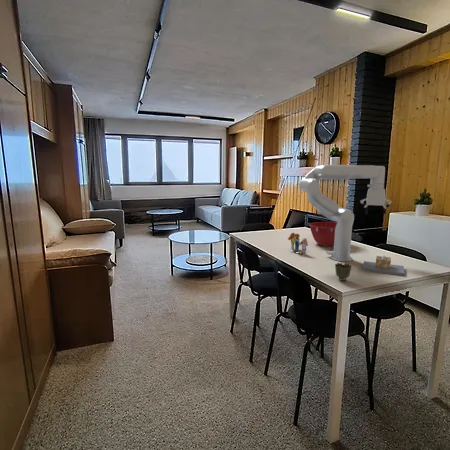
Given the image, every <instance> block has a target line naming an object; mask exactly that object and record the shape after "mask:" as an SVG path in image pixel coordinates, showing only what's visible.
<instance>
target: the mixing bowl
mask: <svg viewBox="0 0 450 450" xmlns="http://www.w3.org/2000/svg"><path fill="white" fill-rule="evenodd" d="M336 225H337V222H334V221H332V222H331V221H320V222H318V221H316V222H311V223H309V229H310V232H311V235H312V237H313V240H314V241H315V242H316V244H318V245H319V244H320V246H322V245H325V246H324V247H334V240H335V228H336Z"/></svg>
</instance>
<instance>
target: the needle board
mask: <svg viewBox="0 0 450 450" xmlns="http://www.w3.org/2000/svg"><path fill="white" fill-rule="evenodd" d="M381 256H382V259H386V257H387V256H386V255H381ZM361 266H362V267H361V271H363V272H364V271H365V272H372V273H380V274H387V275H395V276H400V277H405V266H404V265H398V264H390V269H382V268H375V266H376V261H375V262H373V261H365V260H363V263H362V265H361Z"/></svg>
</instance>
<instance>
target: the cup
mask: <svg viewBox="0 0 450 450" xmlns="http://www.w3.org/2000/svg"><path fill="white" fill-rule="evenodd" d="M334 266H335V276H337V277H338V278H337V279H338V280H339V281H340V282H346V281H347V279H348V278H349V277H350V274H351V271H352V265H350V263H344V264H343V263H342V262H337V263H335V265H334Z"/></svg>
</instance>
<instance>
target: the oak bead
mask: <svg viewBox="0 0 450 450" xmlns="http://www.w3.org/2000/svg"><path fill="white" fill-rule="evenodd" d="M382 256H383V255H376V257H375V258H376V259H375V263H376V266H375V268H382V269H390V264H391V262H392V257H391V256H386V259H382ZM391 265H392V264H391Z"/></svg>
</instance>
